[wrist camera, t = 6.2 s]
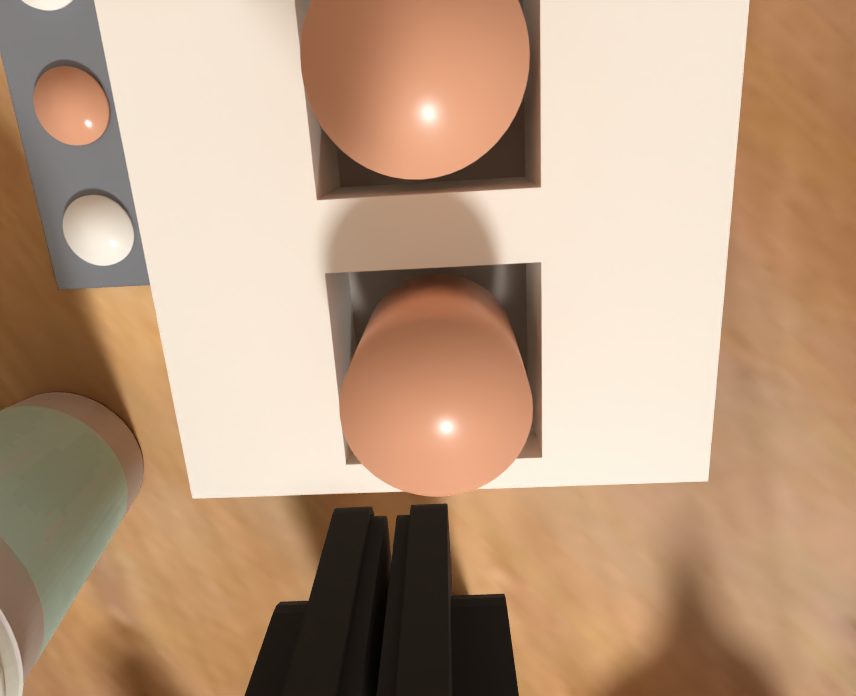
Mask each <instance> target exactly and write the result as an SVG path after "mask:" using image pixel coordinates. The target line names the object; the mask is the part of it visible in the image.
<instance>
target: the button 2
mask: <svg viewBox="0 0 856 696" xmlns="http://www.w3.org/2000/svg"><path fill="white" fill-rule="evenodd" d="M300 60H301V72H302V78H303V84H304V88H305V91H306V94H307V98H308V101H309V103H310V105H311V108H312V110H313V112H314V115H315V116H316V118H317V120H318V122H319V123H320V125H321V127H322V128H323V130H324V131H325V132H326V134H327V135H328V136H329V137H330V139H331V140H332V141H333V142H334V143H335V144H336V145H337V146H338V147H339V148H340V149H341V150H342V151H343V152H344V153H345V154H347V155H348V156H349V157H350V158H352V159H353V160H354V161H356V162H358V163H359V164H361V165H363V166H364V167H366V168H368V169H371V170H373V171H375V172H377V173H380V174H383V175H387V176H390V177H395V178H401V179H429V178H436V177H440V176H444V175H448V174H451V173H453V172H456V171H458V170H460V169H463V168H464V167H466V166H468V165H470V164H471V163H473V162H475V161H476V160H478V159H479V158H480V157H481V156H483V155H484V154H485V153H487V152H488V151H489V150H490V149H491V148H492V147H493V146H494V145H495V144H496V143H497V142H498V141H499V139H500V138H501V137H502V135H503V134H504V133H505V132H506V130H507V129H508V127H509V126H510V124H511V122H512V121H513V119H514V117H515V115H516V113H517V111H518V108H519V106H520V104H521V102H522V98H523V95H524V92H525V88H526V84H527V79H528V73H529V60H530V49H529V36H528V31H527V26H526V21H525V18H524V15H523V12H522V9H521V6H520V3H519V1H518V0H311V3H310V5H309V8H308V11H307V14H306V17H305V20H304V25H303V30H302V35H301V48H300Z"/></svg>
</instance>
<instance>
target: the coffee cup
mask: <svg viewBox="0 0 856 696" xmlns="http://www.w3.org/2000/svg"><path fill="white" fill-rule="evenodd" d="M143 473H144V466H143V458H142V454H141V451H140V448H139V445H138V443H137V441H136V439H135V437H134V435H133V434H132V432H131V431H130V429H129V428H128V427H127V426H126V424H125V423H124V422H123V421H122V420H121V419H120V418H119V417H118V416H117V415H116V414H115V413H113V412H112V411H111V410H109V409H108V408H106V407H105V406H103V405H102V404H100V403H98V402H96V401H94V400H92V399H89V398H87V397H84V396H81V395H77V394H72V393H65V392H49V393H43V394H38V395H35V396H32V397H30V398H28V399H25V400H23V401H21V402H18V403H16V404H14V405H11V406H9V407H7V408H4V409H2V410H0V696H22V692H23V683H24V681H25V680H26V678H27V676H28V675H29V673H30V672H31V670H32V668H33V667H34V665H35V664H36V662H37V660H38V659H39V657H40V655H41V654H42V652H43V650H44V649H45V647H46V645H47V644H48V642H49V640H50V639H51V637H52V635H53V634H54V632H55V630H56V629H57V627H58V626H59V624H60V622H61V621H62V619H63V617H64V616H65V614H66V612H67V611H68V609H69V607H70V606H71V604H72V602H73V601H74V599H75V597H76V596H77V594H78V593H79V591H80V589H81V588H82V586H83V584H84V583H85V581H86V579H87V578H88V576H89V574H90V573H91V571H92V569H93V568H94V566H95V564H96V563H97V561H98V559H99V558H100V556H101V555H102V553H103V551H104V550H105V548H106V546H107V545H108V543H109V541H110V540H111V538H112V536H113V535H114V533H115V531H116V530H117V528H118V526H119V525H120V523H121V521H122V520H123V518H124V516H125V515H126V513H127V511H128V509H129V508H130V506H131V504H132V503H133V501H134V499H135V498H136V496H137V494H138V492H139V490H140V488H141V485H142V481H143Z"/></svg>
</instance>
